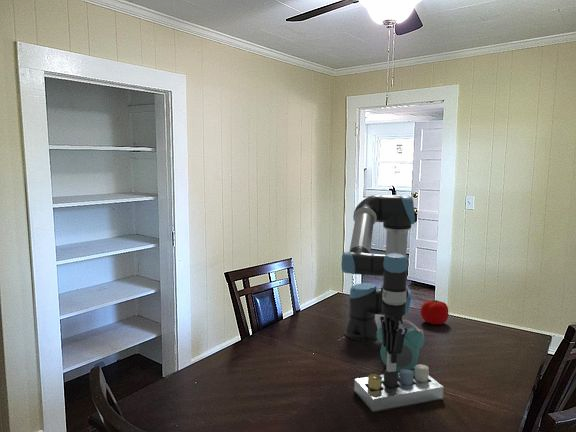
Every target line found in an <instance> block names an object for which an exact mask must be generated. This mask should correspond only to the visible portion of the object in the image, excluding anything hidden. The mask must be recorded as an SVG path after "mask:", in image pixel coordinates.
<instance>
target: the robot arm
mask: <svg viewBox="0 0 576 432" xmlns="http://www.w3.org/2000/svg"><path fill="white" fill-rule="evenodd" d="M414 204H415V203H414V200H413V197H412V196H410V195H403V194H374V195H373V194H372V195H369V196H367V197H366V198H364V199H363V200H361V201H360V202H359V203H358V205H356V207H355V209H354V212H353V216H352V217H353V221H354V223H353V230H352V236H351V242H350V246H349V251H344V252H343V254H342V256H341V271H342V273H344V274H351V275H362V276H363V275H364V276H377V277H378V276H380V277H382V283H381V285H380V288H379V287H377V285H376V284H375V283H372V282H365V283H364V282H362V283H357V284H354V285H352V286H351V287H350V290H349V309H348V319H347V322H346V325H345V327H344V335H345V336H346V337H347V338H348V339H351V340H354V341H359V342H370V341H374V340H376V339H377V330H378V325H377V322H376V315H379V316H380V317H379V320H380V324H381V325H382V337H383V346H384V347H386V350H387V366H386V369H385V370H387V371H388V372H393V371H396V362H397V354H401V352H402V347H403V343H404V338H405V334H406V332H407V330H408V328H406V327H404V325H403V324H404V323H403V322H402V319H403V317H406V316H408V314H409V312H410V307H411V303H412V302H411V301H412V300H411V299H412V291H411V290H410V289H409V286H408V285H407V284H408V282H407V280H408V268H409V264H408V256H407V248H408V247H407V243H408V231H410V230H411V229H412V225H414V224H415V223H416V215H415V207H414ZM376 223H383V224H382V226H383V228H384V229H385V230H386V235H385V236H386V240H385V244H386V245H385V254H384V253H371V250H372V242H373V232H374V225H375V224H376ZM377 340H378V339H377Z"/></svg>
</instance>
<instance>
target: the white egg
mask: <svg viewBox="0 0 576 432" xmlns="http://www.w3.org/2000/svg"><path fill="white" fill-rule="evenodd" d="M414 370H415V380H416V381H417V382H418V383H419V384H421V383H427V382H428V376H430V375H429V374H430V371H429V370H430V368H429V366H428V365H426V364H421V363H419V364H418V363H417V364H416V365H415V368H414Z"/></svg>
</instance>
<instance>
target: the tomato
mask: <svg viewBox="0 0 576 432" xmlns="http://www.w3.org/2000/svg"><path fill="white" fill-rule="evenodd" d="M420 315H421V317H422V319H423V321H425V323H429V324H431V325H437V326H438V325H442V324H444V323H446V322H447V321H448V318H449V307H448V305H447V303H445V302H444V301H440V300H436V299H434V300H433V299H431V300H428V301H425V302H424V303H423V304H422V305H421V308H420Z"/></svg>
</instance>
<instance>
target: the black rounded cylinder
mask: <svg viewBox="0 0 576 432" xmlns="http://www.w3.org/2000/svg"><path fill="white" fill-rule="evenodd" d="M383 375H384V386H385V387H386V388H387V389H391V388H397V382H398V371H393V372H388V371H387V370H386V369H385V370H384V372H383Z"/></svg>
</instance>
